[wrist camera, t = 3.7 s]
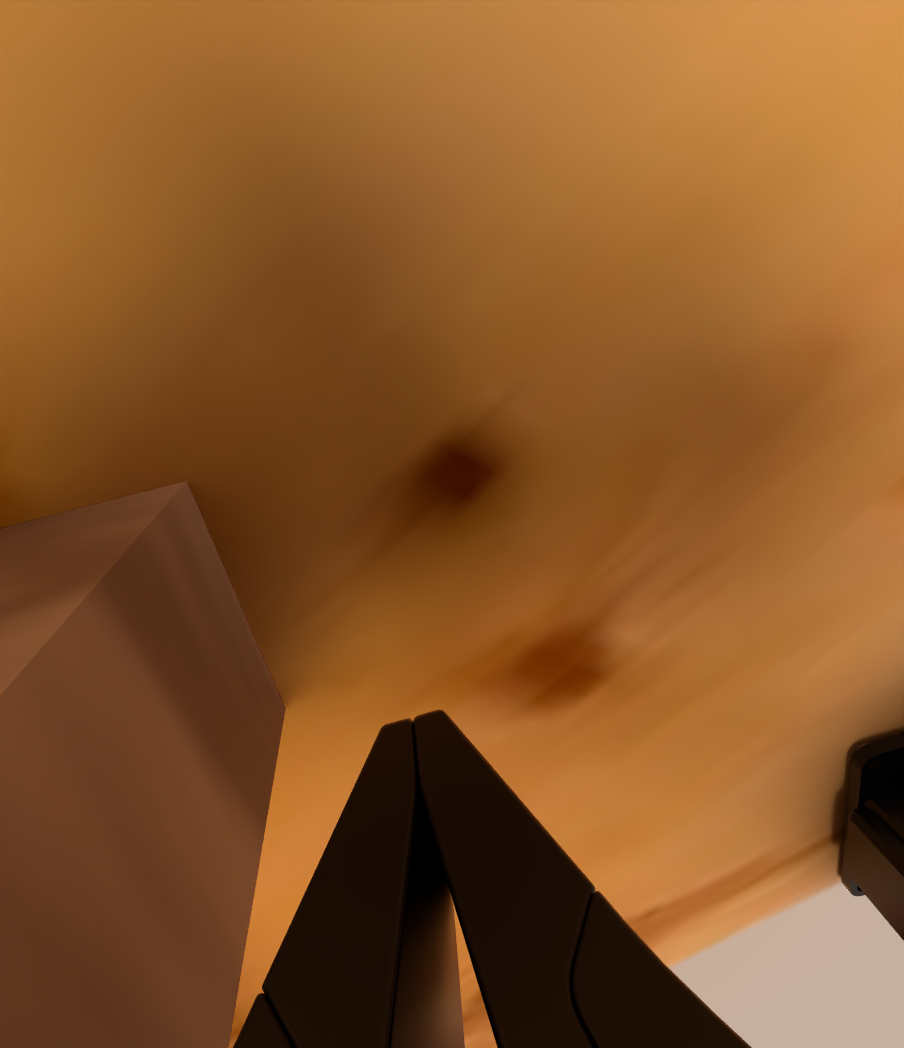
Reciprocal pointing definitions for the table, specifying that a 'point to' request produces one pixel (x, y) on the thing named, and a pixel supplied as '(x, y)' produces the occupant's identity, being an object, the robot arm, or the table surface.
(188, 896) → the walnut block
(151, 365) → the table surface
